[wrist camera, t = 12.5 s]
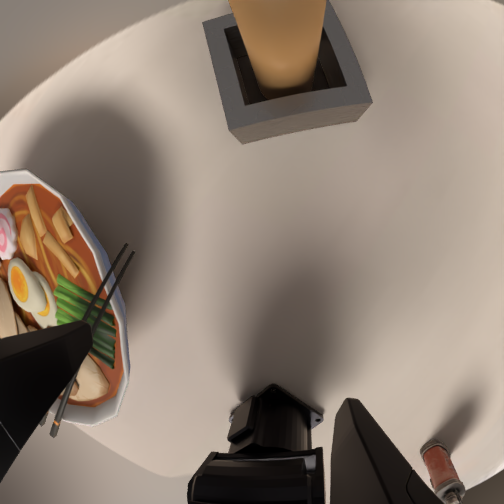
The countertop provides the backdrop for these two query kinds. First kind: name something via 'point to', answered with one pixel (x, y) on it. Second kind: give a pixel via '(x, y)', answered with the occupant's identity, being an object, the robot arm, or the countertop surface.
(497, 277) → the countertop surface
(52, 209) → the ramen bowl
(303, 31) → the plug
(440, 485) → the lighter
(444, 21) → the countertop surface
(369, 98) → the grey square open block
